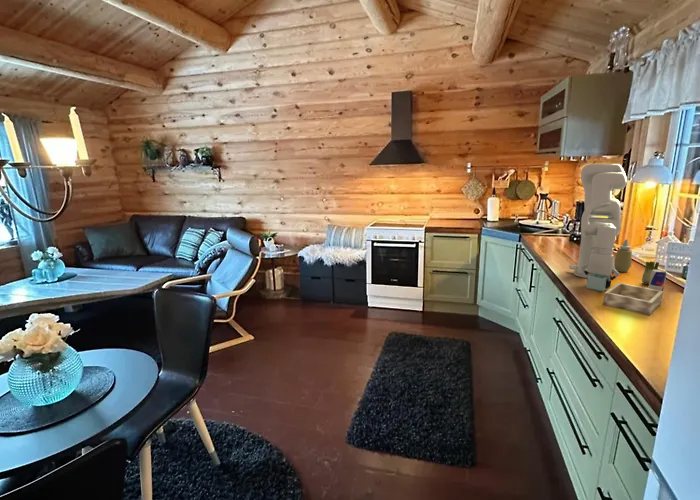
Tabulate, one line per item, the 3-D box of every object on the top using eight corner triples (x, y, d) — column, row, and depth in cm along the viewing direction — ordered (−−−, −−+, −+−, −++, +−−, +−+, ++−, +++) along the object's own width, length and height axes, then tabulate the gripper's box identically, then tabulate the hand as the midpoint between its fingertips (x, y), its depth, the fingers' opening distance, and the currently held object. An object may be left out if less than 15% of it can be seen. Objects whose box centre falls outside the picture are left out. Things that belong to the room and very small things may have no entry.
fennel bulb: (655, 284, 192) (659, 261, 189) (655, 286, 188) (660, 263, 185) (640, 282, 195) (644, 259, 192) (641, 284, 191) (645, 261, 188)
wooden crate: (602, 304, 165) (604, 292, 164) (617, 293, 178) (618, 282, 177) (649, 315, 153) (651, 302, 152) (661, 303, 166) (663, 291, 165)
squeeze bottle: (630, 273, 209) (636, 241, 205) (612, 271, 213) (617, 240, 209) (629, 270, 216) (634, 239, 212) (612, 268, 220) (617, 237, 216)
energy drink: (658, 298, 172) (663, 273, 169) (644, 294, 177) (649, 270, 174) (664, 296, 174) (669, 271, 172) (650, 293, 179) (655, 268, 176)
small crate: (586, 288, 186) (588, 275, 184) (593, 284, 192) (595, 271, 191) (602, 292, 181) (604, 279, 179) (609, 287, 187) (611, 274, 186)
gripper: (580, 249, 186) (575, 283, 190) (622, 255, 173) (616, 292, 177) (585, 246, 191) (581, 280, 195) (627, 252, 178) (621, 288, 182)
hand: (598, 286), depth 186 cm, fingers closed on small crate, 7 cm apart
